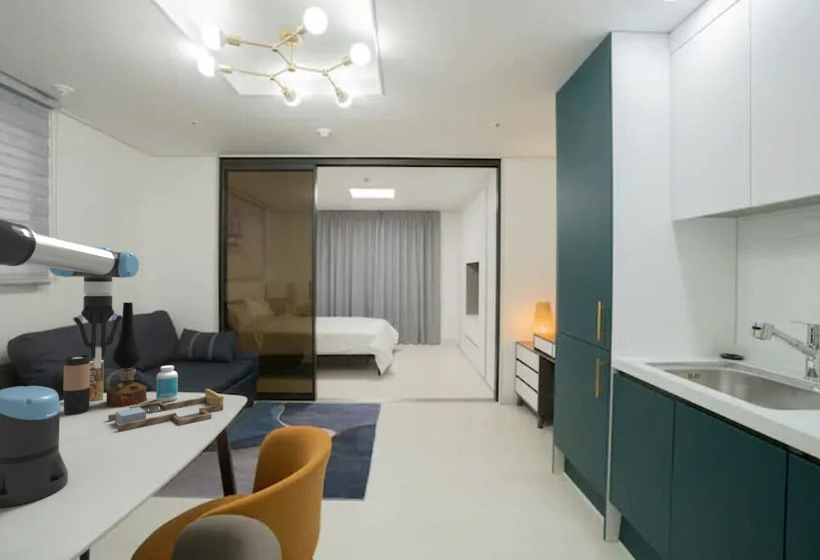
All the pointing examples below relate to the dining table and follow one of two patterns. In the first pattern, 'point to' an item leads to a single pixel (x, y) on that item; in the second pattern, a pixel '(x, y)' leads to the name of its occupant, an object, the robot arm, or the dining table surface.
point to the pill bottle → (167, 384)
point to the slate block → (130, 415)
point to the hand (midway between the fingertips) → (97, 367)
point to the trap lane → (203, 414)
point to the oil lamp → (126, 365)
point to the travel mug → (76, 384)
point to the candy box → (96, 382)
